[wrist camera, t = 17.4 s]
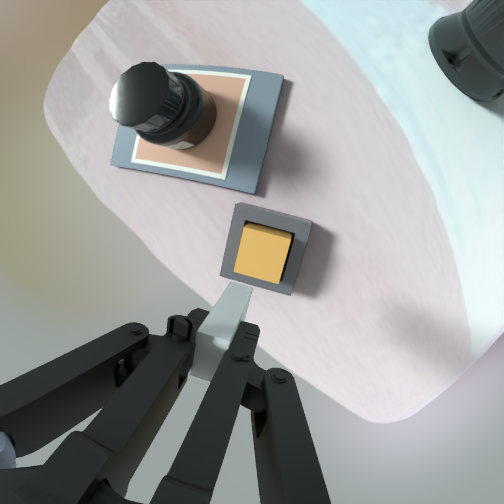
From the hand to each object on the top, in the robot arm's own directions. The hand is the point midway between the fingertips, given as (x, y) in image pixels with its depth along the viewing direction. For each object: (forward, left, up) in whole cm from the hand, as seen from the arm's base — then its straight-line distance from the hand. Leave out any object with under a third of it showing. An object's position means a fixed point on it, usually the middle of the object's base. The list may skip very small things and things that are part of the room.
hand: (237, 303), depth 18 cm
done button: (0, 0, -16) cm, 16 cm away
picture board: (+14, -14, -18) cm, 27 cm away
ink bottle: (+14, -14, -17) cm, 26 cm away
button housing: (0, 0, -18) cm, 18 cm away
